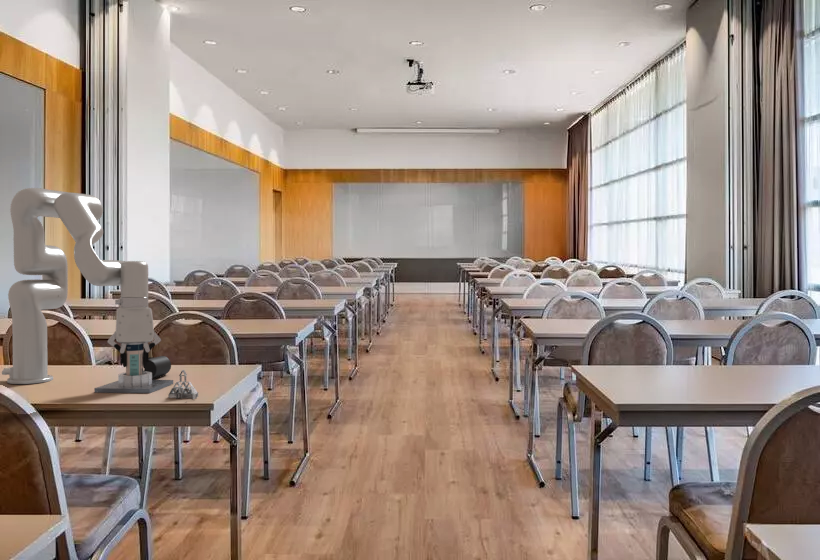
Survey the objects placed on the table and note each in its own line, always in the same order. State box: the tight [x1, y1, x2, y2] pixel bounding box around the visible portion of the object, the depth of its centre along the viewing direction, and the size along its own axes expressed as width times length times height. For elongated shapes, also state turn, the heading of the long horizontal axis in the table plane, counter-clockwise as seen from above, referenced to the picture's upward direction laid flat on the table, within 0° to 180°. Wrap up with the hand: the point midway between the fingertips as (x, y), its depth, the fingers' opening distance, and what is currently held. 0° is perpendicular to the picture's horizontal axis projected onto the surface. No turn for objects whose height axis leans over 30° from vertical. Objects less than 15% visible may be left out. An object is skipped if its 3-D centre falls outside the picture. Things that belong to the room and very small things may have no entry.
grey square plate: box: [93, 370, 174, 394], centre depth 204 cm, size 16×16×4 cm
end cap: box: [143, 355, 172, 380], centre depth 222 cm, size 10×7×7 cm
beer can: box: [125, 343, 144, 375], centre depth 204 cm, size 5×5×12 cm
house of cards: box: [167, 369, 199, 404], centre depth 188 cm, size 9×9×8 cm
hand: (134, 365), depth 204 cm, fingers closed on beer can, 4 cm apart
